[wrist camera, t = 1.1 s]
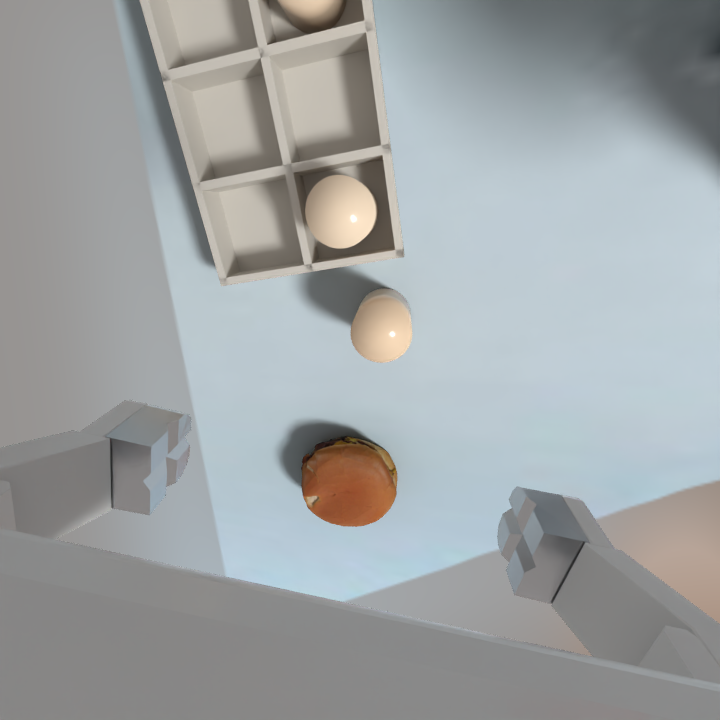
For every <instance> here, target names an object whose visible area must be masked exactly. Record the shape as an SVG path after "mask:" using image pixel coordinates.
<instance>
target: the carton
mask: <svg viewBox="0 0 720 720" xmlns="http://www.w3.org/2000/svg"><path fill="white" fill-rule="evenodd" d="M140 4H141V7H142V11H143V14H144V18H145V21H146V25H147V28H148V32H149V35H150V39H151V42H152V46H153V49H154V53H155V56H156V60H157V63H158V66H159V70H160V73H161V77H162V80H163V84H164V87H165V91H166V94H167V98H168V101H169V105H170V108H171V112H172V115H173V119H174V122H175V126H176V129H177V133H178V136H179V140H180V143H181V147H182V150H183V154H184V157H185V161H186V164H187V168H188V171H189V175H190V178H191V182H192V185H193V189H194V192H195V196H196V199H197V203H198V206H199V210H200V213H201V217H202V220H203V224H204V227H205V231H206V234H207V238H208V241H209V245H210V248H211V252H212V255H213V259H214V262H215V266H216V269H217V273H218V276H219V280H220V283H221V286H226V285H232V284H238V283H245V282H251V281H257V280H263V279H270V278H276V277H282V276H288V275H295V274H301V273H307V272H313V271H320V270H326V269H332V268H338V267H345V266H351V265H357V264H363V263H370V262H376V261H382V260H388V259H395V258H401V257H404V248H403V240H402V232H401V225H400V217H399V209H398V201H397V193H396V185H395V177H394V169H393V161H392V153H391V145H390V138H389V130H388V122H387V114H386V106H385V98H384V90H383V82H382V74H381V66H380V58H379V51H378V43H377V35H376V27H375V19H374V11H373V3H372V0H347V2H346V6H345V9H344V12H343V14H342V16H341V18H340V20H339V21H338V22H337V24H336V25H335V26H334V27H333V28H331V29H329V30H325V31H321V32H317V33H313V34H307V33H304V32H302V31H300V30H299V29H297V28H296V27H295V26H294V25H293V24H292V23H291V22H290V20H289V19H288V17H287V16H286V14H285V12H284V11H283V9H282V7H281V6H280V4H279V2H278V1H277V0H140ZM332 175H345V176H349V177H352V178H354V179H356V180H357V181H359V182H361V183H363V184H364V185H366V186H367V187H368V188H369V189H370V190H371V191H372V192H373V194H374V195H375V197H376V200H377V203H378V209H379V214H378V220H377V223H376V225H375V227H374V229H373V230H372V231H371V232H370V233H369V234H368V235H367V236H366V237H365V238H364V239H363V240H361V241H360V242H359V243H357V244H356V245H354V246H351V247H348V248H342V249H340V248H332V247H329V246H327V245H325V244H323V243H321V242H320V241H319V240H318V239H317V238H316V237H315V236H314V235H313V234H312V232H311V231H310V229H309V227H308V224H307V221H306V215H305V207H306V201H307V198H308V195H309V193H310V192H311V190H312V189H313V187H314V186H315V185H316V184H317V183H318V182H319V181H321V180H322V179H324V178H326V177H329V176H332Z"/></svg>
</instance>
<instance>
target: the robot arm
mask: <svg viewBox="0 0 720 720" xmlns="http://www.w3.org/2000/svg"><path fill="white" fill-rule="evenodd" d="M190 430H191V417H190V416H189V414H187V413H183V412H179V411H174V410H170V409H166V408H162V407H158V406H154V405H148V404H145V403H141V402H136V401H132V400H125V401H123V402H122V403H120V404H119V405H117V406H116V407H115V408H113V409H112V410H110V411H109V412H107V413H106V414H105V415H103V416H102V417H100V418H99V419H97V420H96V421H95V422H93V423H92V424H90V425H89V426H88V427H86V428H84V429H83V430H82V431H80V432H78V431H73V430H72V431H68V432H64V433H60V434H56V435H51V436H47V437H43V438H39V439H35V440H30V441H26V442H22V443H18V444H14V445H9V446H6V447H2V448H0V720H720V624H719V623H718V622H717V621H715V620H714V619H713V618H711V617H710V616H708V615H707V614H706V613H704V612H703V611H702V610H701V609H699V608H698V607H697V606H695V605H694V604H693V603H691V602H690V601H688V600H687V599H686V598H684V597H683V596H682V595H680V594H679V593H678V592H676V591H675V590H674V589H672V588H671V587H670V586H668V585H667V584H665V583H664V582H663V581H662V580H660V579H659V578H658V577H656V576H655V575H654V574H652V573H651V572H650V571H648V570H647V569H646V568H644V567H643V566H642V565H640V564H639V563H638V562H636V561H635V560H634V559H632V558H631V557H630V556H628V555H627V554H625V553H624V552H623V551H621V550H617V549H615V548H614V547H613V545H612V544H611V542H610V541H609V539H608V538H607V536H606V535H605V533H604V532H603V530H602V529H601V528H600V526H599V524H598V523H597V521H596V520H595V518H594V517H593V515H592V514H591V512H590V511H589V509H588V508H587V506H586V505H585V503H584V502H583V501H582V500H580V499H579V498H575V497H570V496H564V495H559V494H552V493H547V492H542V491H537V490H532V489H527V488H522V487H516V488H515V489H514V490H513V491H512V494H511V496H510V498H509V501H510V504H511V507H512V508H511V509H510V510H508V511H507V512H505V513H504V514H503V515H502V517H501V520H500V523H499V527H498V536H497V537H498V546H499V549H500V552H501V554H502V556H504V558H505V559H506V560H507V561H508V562H509V564H508V566H507V569H506V571H507V574H508V577H509V580H510V583H511V586H512V589H513V592H514V595H517V596H520V597H524V598H529V599H533V600H537V601H541V602H545V603H549V604H552V605H551V606H552V607H553V608H554V610H555V611H556V612H557V614H558V615H559V616H560V617H561V618H562V620H563V621H564V622H565V623H566V625H567V626H568V627H569V628H570V629H571V631H572V632H573V633H574V634H575V635H576V637H577V638H578V639H579V640H580V641H581V643H582V644H583V645H584V646H585V648H586V649H587V650H588V651H589V652H590V653H591V655H592V656H593V657H592V656H587V655H583V654H578V653H574V652H569V651H565V650H560V649H555V648H551V647H546V646H542V645H537V644H533V643H528V642H523V641H519V640H514V639H510V638H505V637H500V636H496V635H491V634H487V633H482V632H478V631H473V630H469V629H464V628H459V627H455V626H450V625H446V624H441V623H437V622H432V621H428V620H422V619H418V618H414V617H409V616H405V615H400V614H395V613H391V612H386V611H381V610H377V609H372V608H368V607H363V606H358V605H353V604H349V603H345V602H340V601H335V600H331V599H326V598H322V597H317V596H312V595H308V594H303V593H298V592H294V591H289V590H284V589H280V588H275V587H271V586H266V585H262V584H257V583H252V582H248V581H243V580H239V579H234V578H229V577H225V576H220V575H216V574H211V573H207V572H202V571H197V570H193V569H188V568H183V567H179V566H174V565H170V564H165V563H160V562H156V561H152V560H147V559H142V558H138V557H133V556H129V555H124V554H119V553H115V552H110V551H106V550H101V549H97V548H92V547H87V546H83V545H78V544H73V543H69V542H64V541H60V540H55V539H57V538H59V537H61V536H63V535H65V534H67V533H68V532H70V531H72V530H74V529H76V528H78V527H80V526H82V525H84V524H86V523H88V522H90V521H92V520H93V519H95V518H97V517H99V516H101V515H103V514H105V513H107V512H109V511H111V508H114V509H119V510H124V511H129V512H135V513H140V514H145V515H150V514H151V513H152V512H153V511H154V509H155V508H156V507H157V506H158V504H159V503H160V502H161V501H162V499H163V498H164V497H165V496H166V487H167V486H169V485H172V484H174V483H176V482H177V480H178V479H179V478H180V477H181V475H182V473H183V471H184V469H185V467H186V465H187V462H188V457H189V451H190V445H189V443H188V442H187V440H186V438H185V436H186V435H187V434H188V433H189V431H190Z"/></svg>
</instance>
